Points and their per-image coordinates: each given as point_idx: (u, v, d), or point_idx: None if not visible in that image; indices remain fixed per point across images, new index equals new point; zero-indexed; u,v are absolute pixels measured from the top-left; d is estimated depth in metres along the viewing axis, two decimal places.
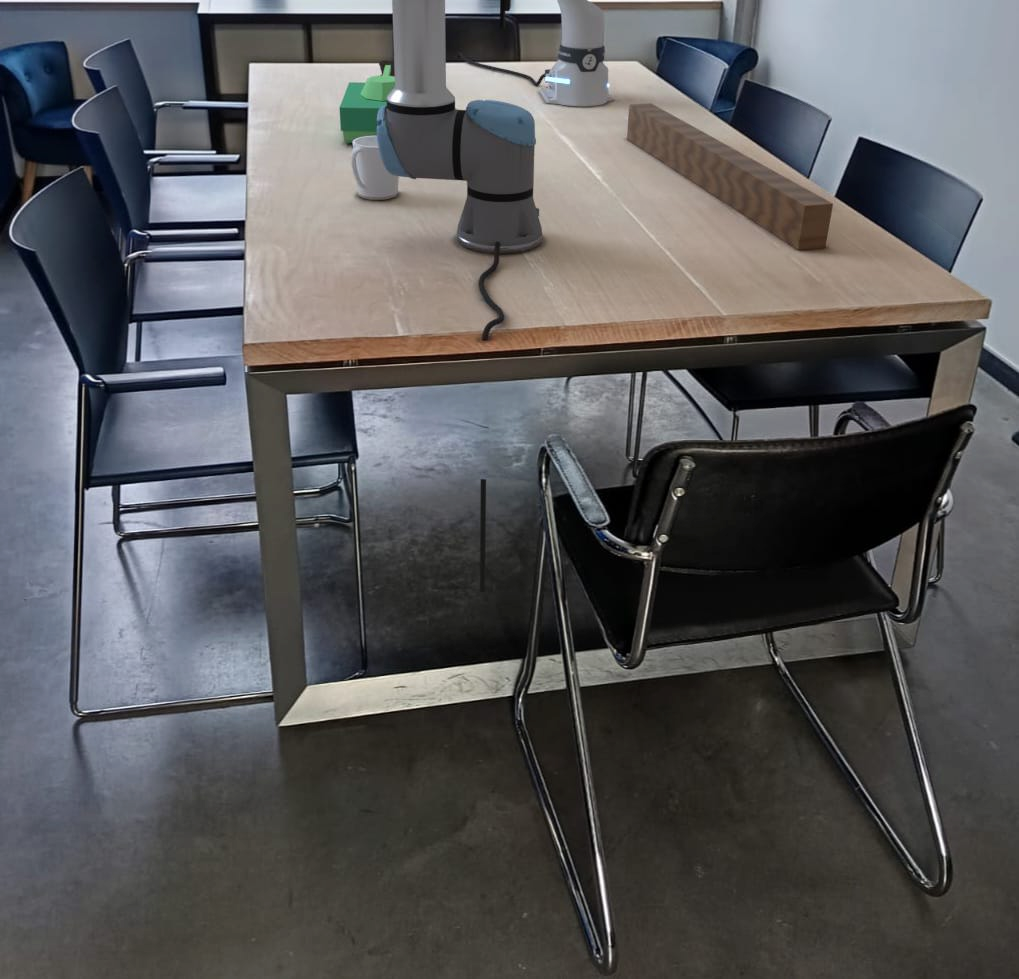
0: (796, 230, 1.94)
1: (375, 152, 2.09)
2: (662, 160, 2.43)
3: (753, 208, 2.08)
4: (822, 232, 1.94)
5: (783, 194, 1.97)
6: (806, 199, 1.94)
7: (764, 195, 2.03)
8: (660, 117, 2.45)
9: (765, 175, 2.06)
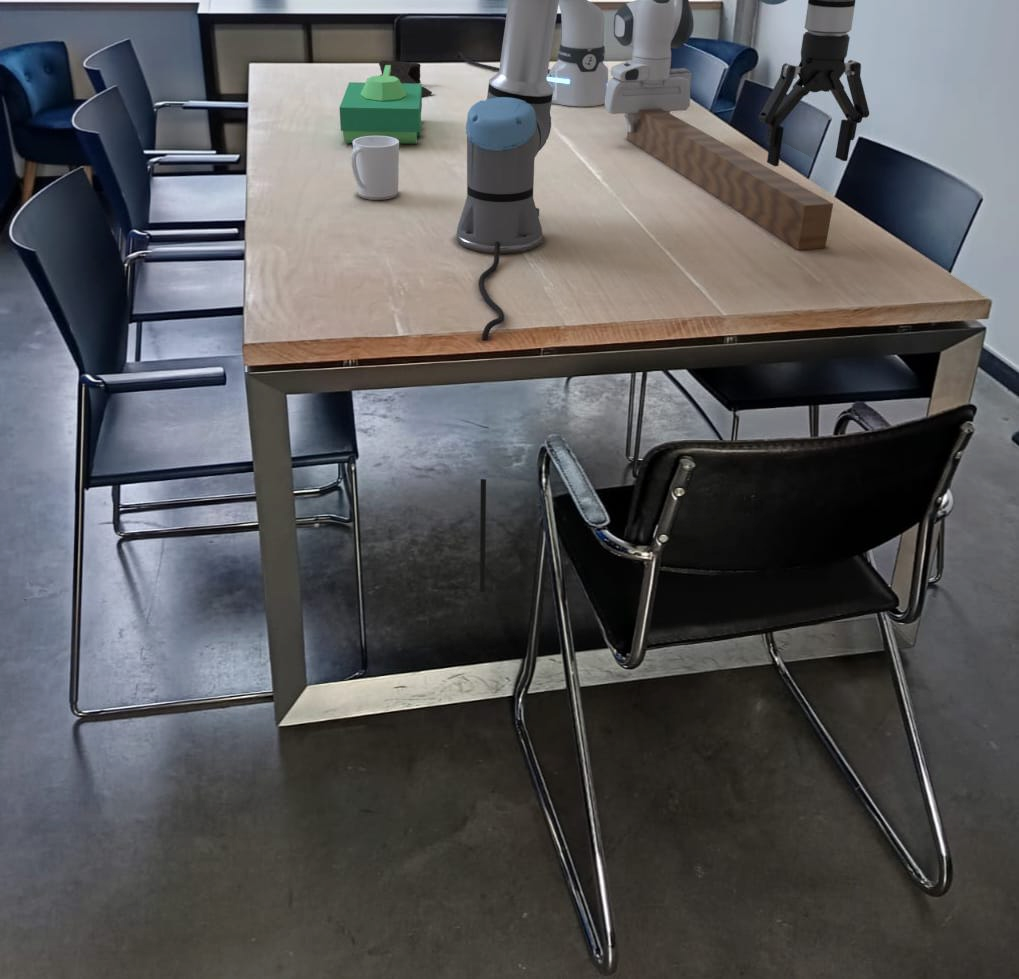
0: (796, 230, 1.94)
1: (375, 152, 2.09)
2: (662, 160, 2.43)
3: (753, 208, 2.08)
4: (823, 232, 1.94)
5: (783, 194, 1.97)
6: (806, 198, 1.94)
7: (764, 195, 2.03)
8: (660, 117, 2.45)
9: (765, 175, 2.06)
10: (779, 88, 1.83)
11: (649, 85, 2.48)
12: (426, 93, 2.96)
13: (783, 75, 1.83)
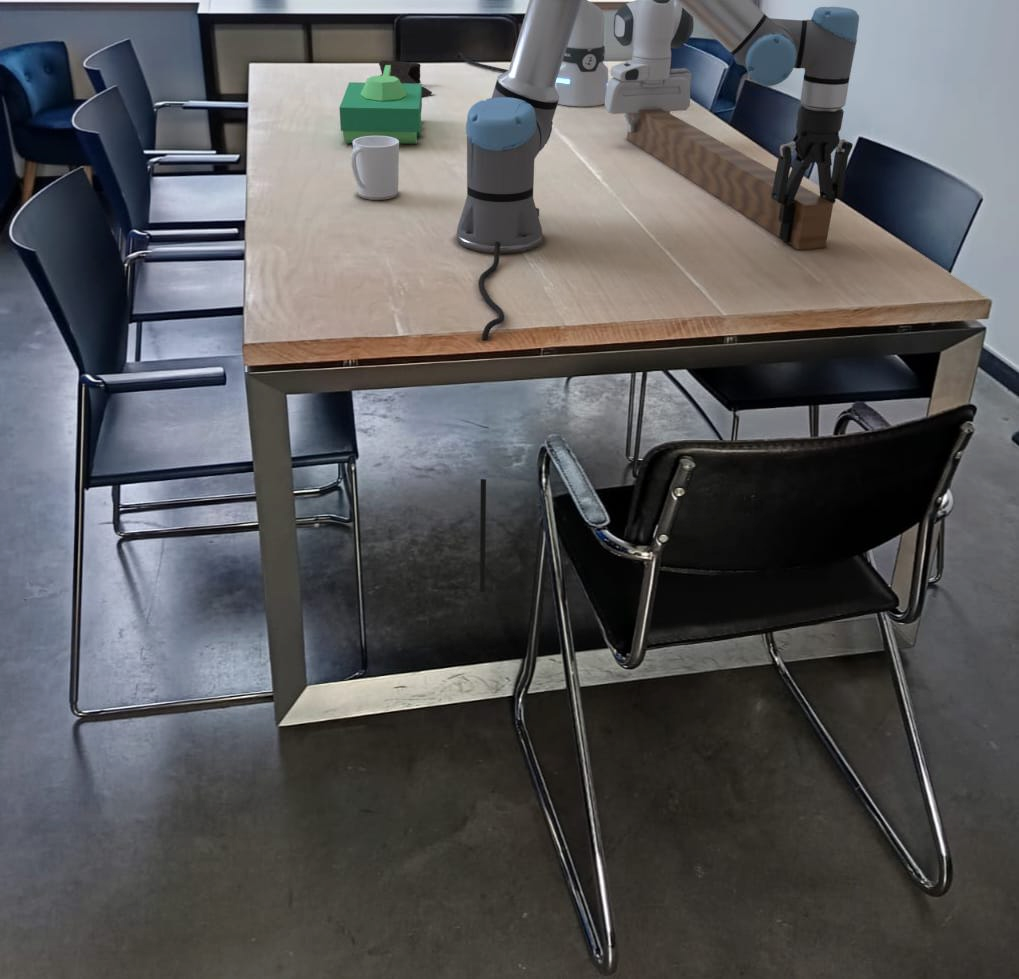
0: (796, 230, 1.94)
1: (375, 152, 2.09)
2: (662, 160, 2.43)
3: (753, 208, 2.08)
4: (823, 231, 1.94)
5: None
6: (807, 198, 1.94)
7: (764, 195, 2.03)
8: (660, 117, 2.45)
9: (765, 175, 2.06)
10: (781, 168, 1.90)
11: (649, 85, 2.48)
12: (426, 93, 2.96)
13: (781, 155, 1.89)
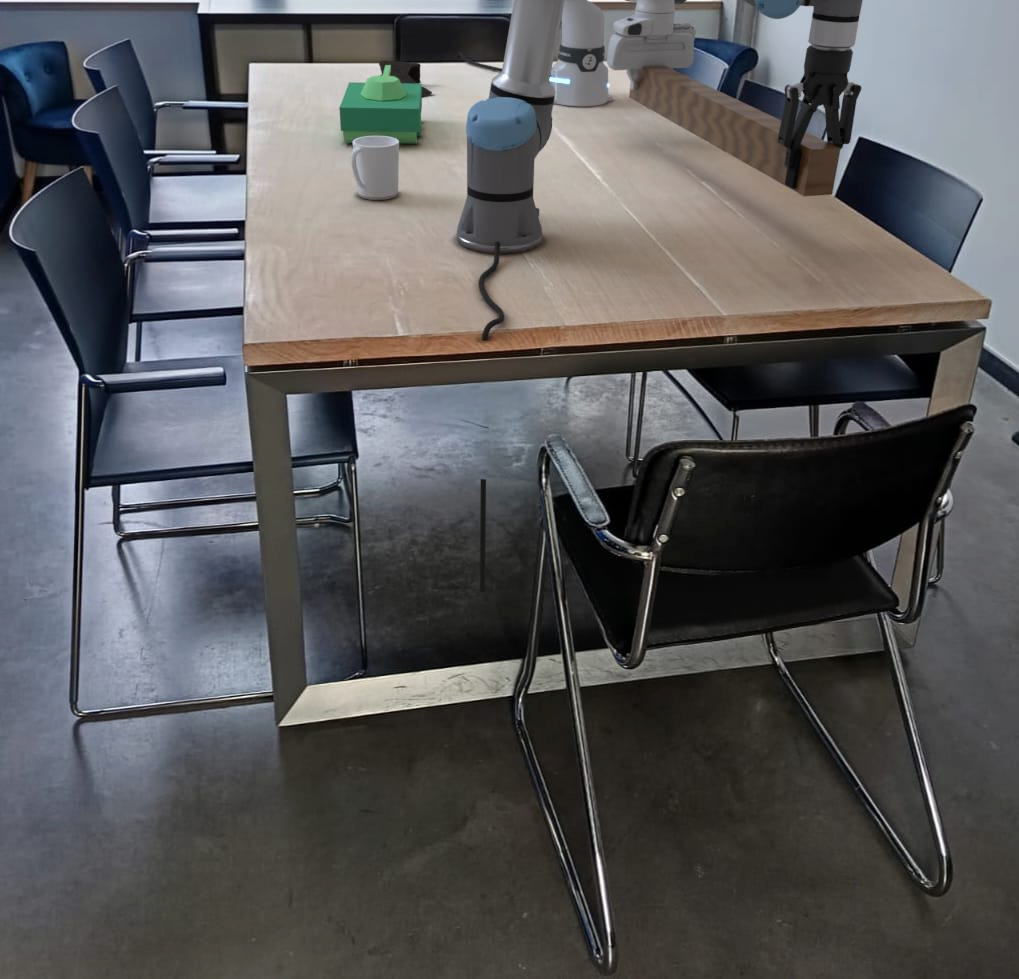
0: (803, 176, 1.89)
1: (375, 152, 2.09)
2: (665, 116, 2.38)
3: (758, 157, 2.03)
4: (829, 178, 1.89)
5: None
6: (813, 143, 1.89)
7: (769, 142, 1.98)
8: (663, 72, 2.40)
9: (771, 123, 2.02)
10: (787, 111, 1.85)
11: (652, 40, 2.43)
12: (426, 93, 2.96)
13: (788, 97, 1.84)
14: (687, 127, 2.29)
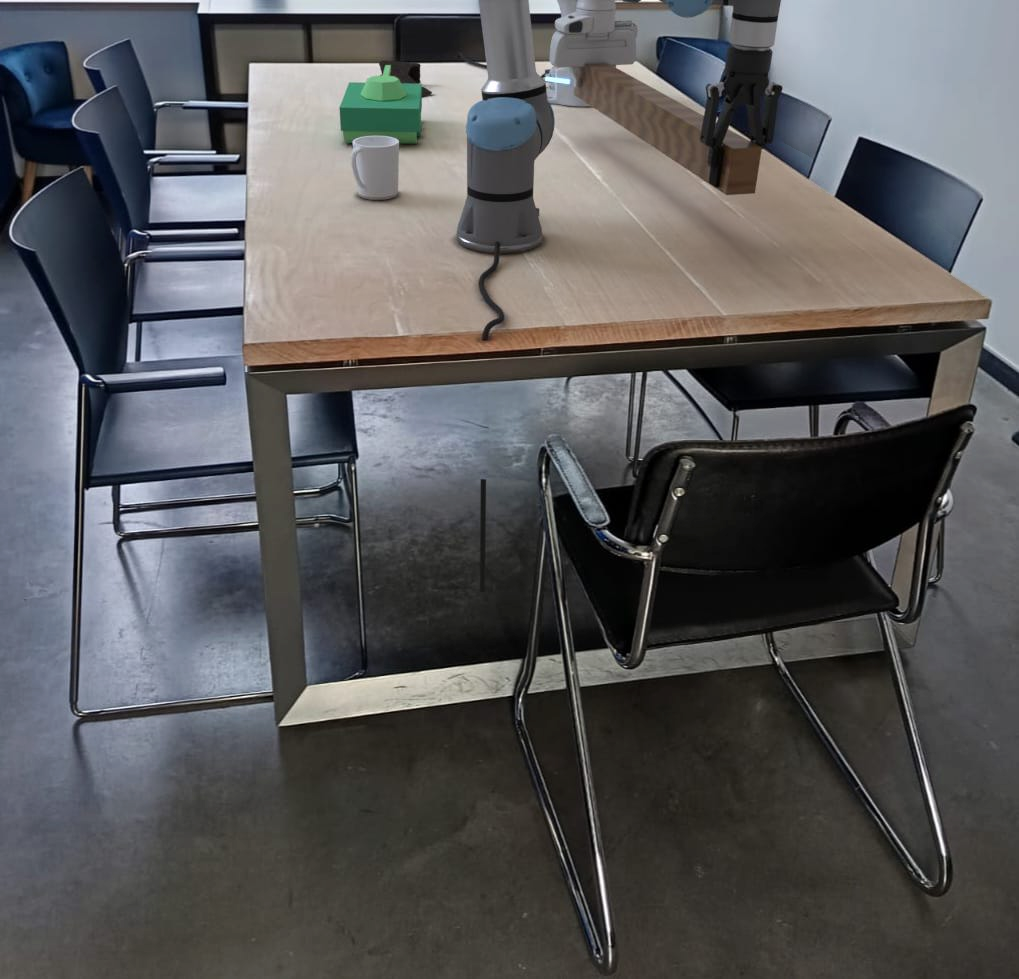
0: (725, 175, 1.91)
1: (375, 152, 2.09)
2: (605, 113, 2.39)
3: (686, 155, 2.04)
4: (751, 177, 1.91)
5: None
6: (736, 142, 1.90)
7: (695, 141, 2.00)
8: (604, 70, 2.42)
9: (698, 122, 2.03)
10: (709, 110, 1.86)
11: (594, 38, 2.44)
12: (426, 93, 2.96)
13: (709, 96, 1.85)
14: (624, 125, 2.30)
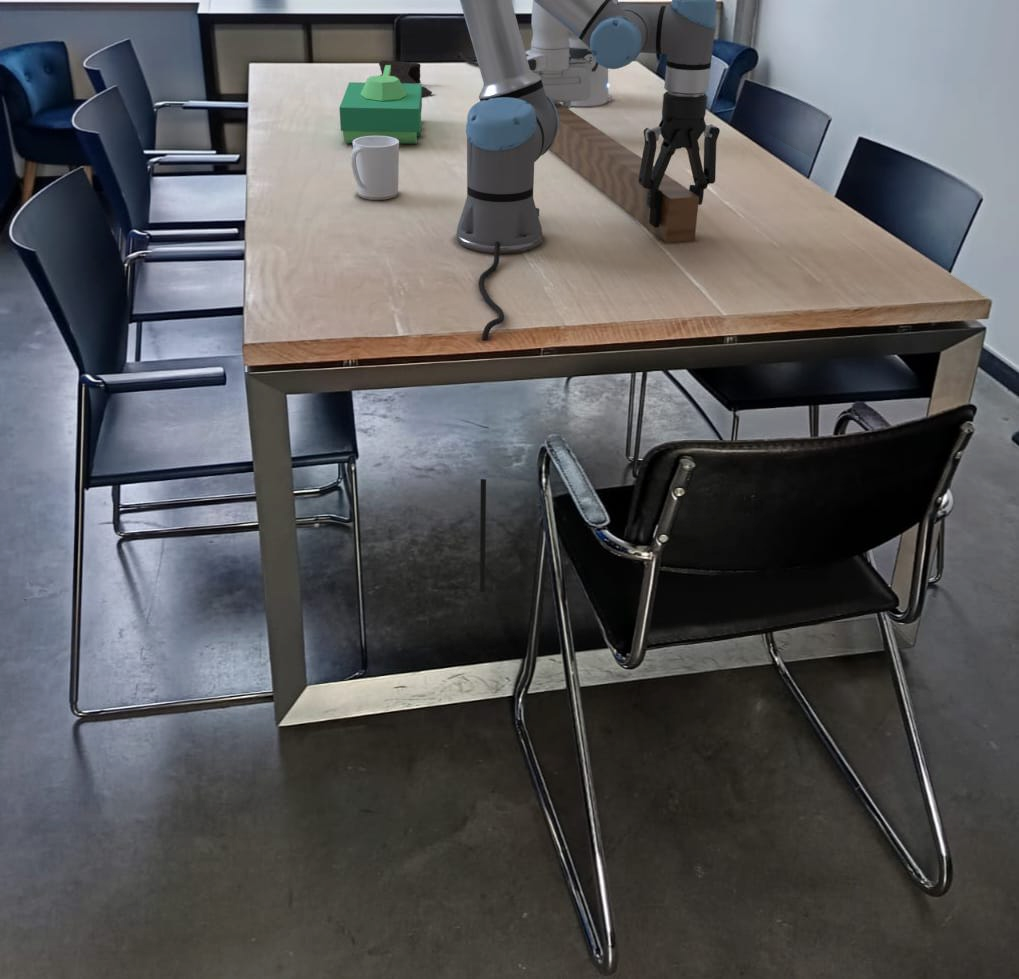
0: (664, 223, 1.96)
1: (375, 152, 2.09)
2: (558, 155, 2.45)
3: (630, 202, 2.10)
4: (690, 225, 1.96)
5: None
6: (674, 192, 1.96)
7: (638, 188, 2.05)
8: (557, 112, 2.47)
9: None
10: (646, 153, 1.91)
11: (548, 75, 2.49)
12: (426, 93, 2.96)
13: (646, 140, 1.90)
14: (575, 168, 2.36)
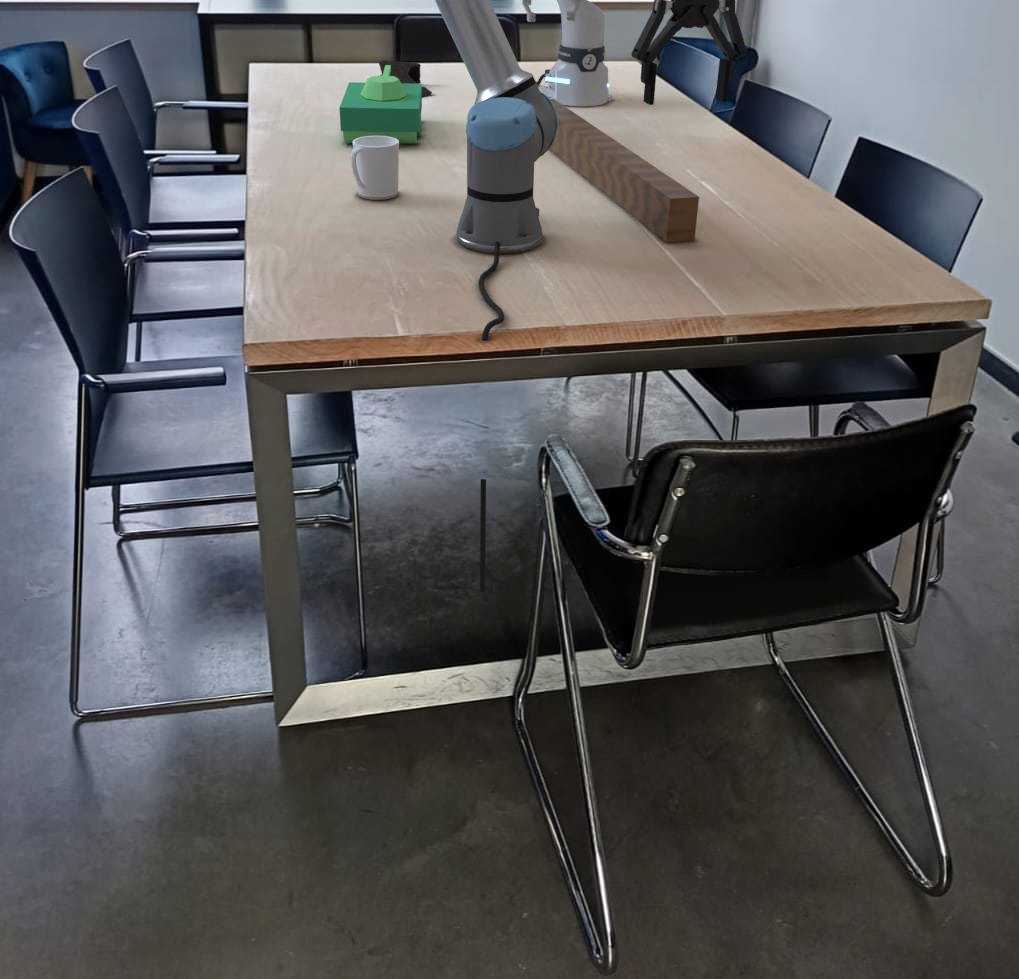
0: (664, 223, 1.96)
1: (375, 152, 2.09)
2: (558, 155, 2.45)
3: (630, 202, 2.10)
4: (690, 225, 1.96)
5: (653, 187, 1.99)
6: (674, 192, 1.96)
7: (638, 188, 2.05)
8: (557, 112, 2.47)
9: (641, 169, 2.08)
10: (650, 23, 1.79)
11: None
12: (426, 93, 2.96)
13: (655, 10, 1.79)
14: (575, 167, 2.36)
